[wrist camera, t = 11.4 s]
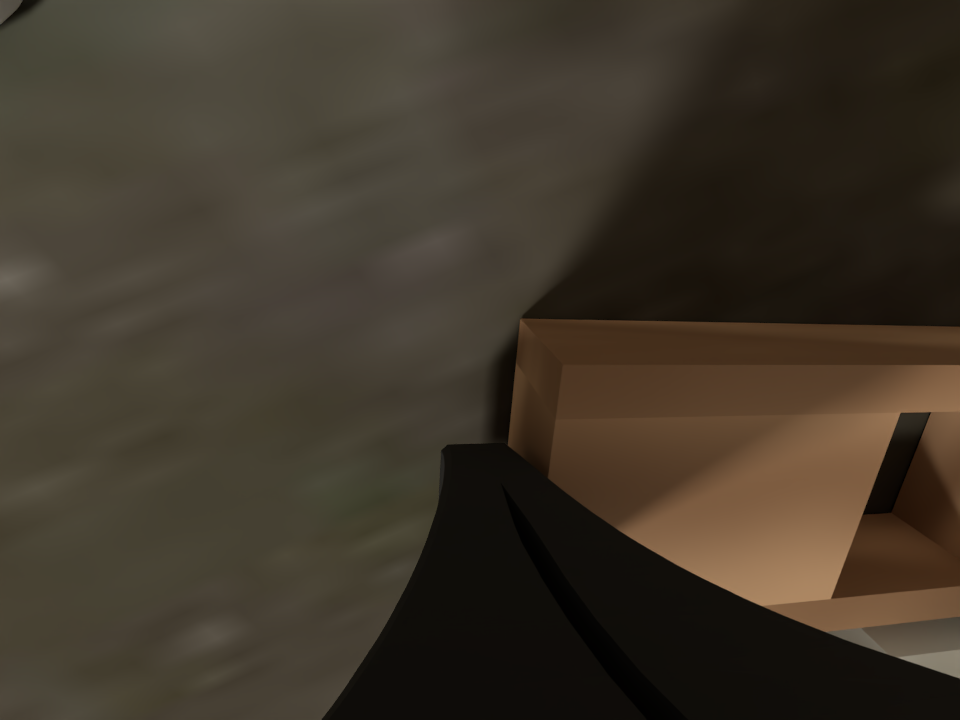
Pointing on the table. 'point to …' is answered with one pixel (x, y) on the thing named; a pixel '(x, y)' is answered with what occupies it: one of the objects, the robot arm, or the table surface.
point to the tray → (914, 642)
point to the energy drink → (8, 8)
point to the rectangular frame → (757, 454)
